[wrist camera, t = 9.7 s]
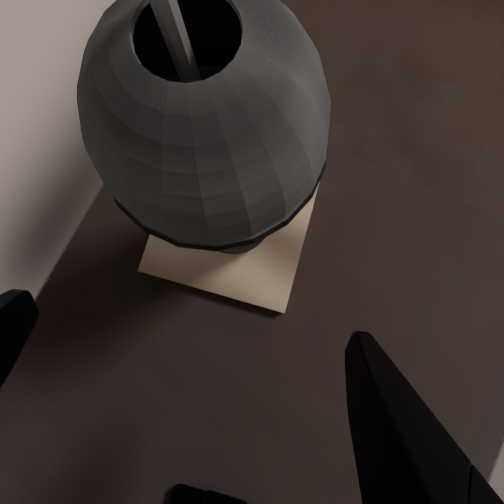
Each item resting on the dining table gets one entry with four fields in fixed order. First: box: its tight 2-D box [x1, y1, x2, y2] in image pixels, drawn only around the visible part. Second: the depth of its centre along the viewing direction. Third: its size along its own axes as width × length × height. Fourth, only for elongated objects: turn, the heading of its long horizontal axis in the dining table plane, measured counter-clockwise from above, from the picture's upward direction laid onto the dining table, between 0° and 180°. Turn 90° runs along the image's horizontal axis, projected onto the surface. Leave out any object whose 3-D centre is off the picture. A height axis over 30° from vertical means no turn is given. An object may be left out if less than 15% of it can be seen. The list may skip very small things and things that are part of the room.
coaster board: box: [138, 181, 320, 313], centre depth 22 cm, size 10×10×1 cm
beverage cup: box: [77, 0, 331, 254], centre depth 11 cm, size 7×7×20 cm
